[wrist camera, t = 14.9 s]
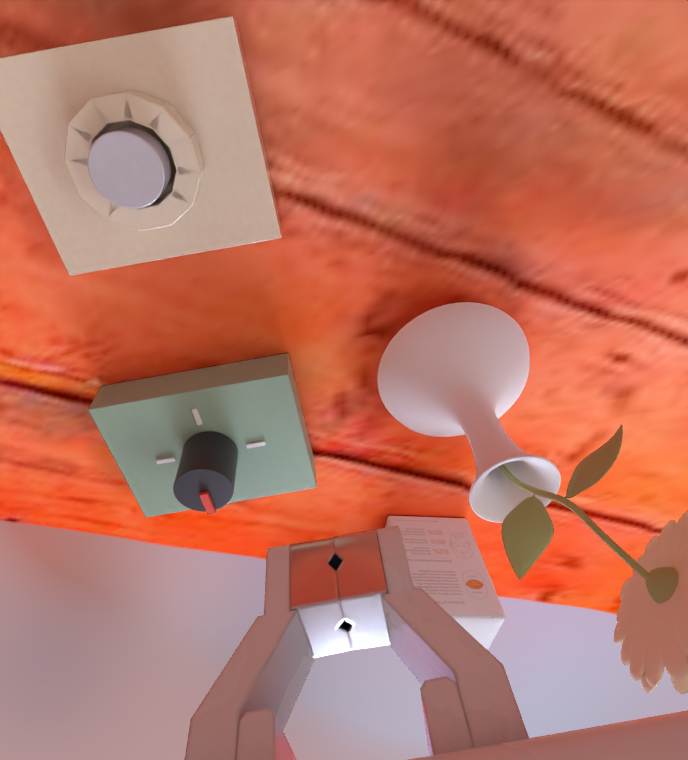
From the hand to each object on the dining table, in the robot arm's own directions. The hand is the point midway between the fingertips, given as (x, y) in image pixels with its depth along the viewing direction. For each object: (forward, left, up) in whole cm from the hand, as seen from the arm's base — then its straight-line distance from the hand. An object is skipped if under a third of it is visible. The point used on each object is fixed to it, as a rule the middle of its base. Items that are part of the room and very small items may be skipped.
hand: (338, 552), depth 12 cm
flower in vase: (-9, +11, -25) cm, 29 cm away
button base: (+8, -6, -25) cm, 27 cm away
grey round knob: (+8, -6, -21) cm, 24 cm away
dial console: (+10, +14, -25) cm, 30 cm away
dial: (+10, +14, -22) cm, 28 cm away
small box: (-6, +31, -25) cm, 41 cm away
